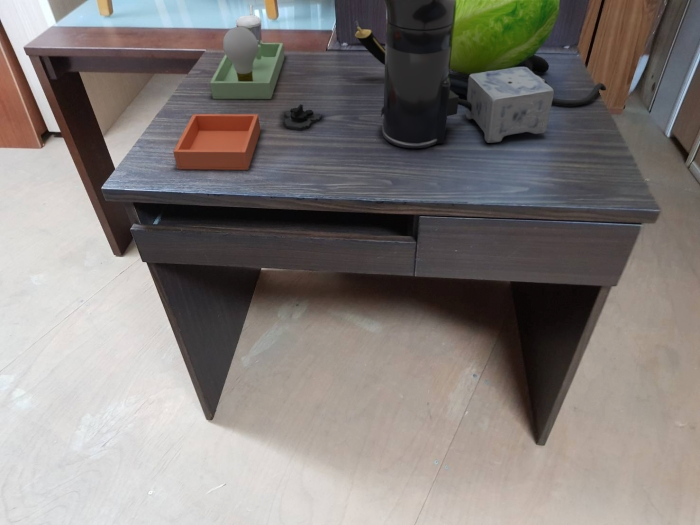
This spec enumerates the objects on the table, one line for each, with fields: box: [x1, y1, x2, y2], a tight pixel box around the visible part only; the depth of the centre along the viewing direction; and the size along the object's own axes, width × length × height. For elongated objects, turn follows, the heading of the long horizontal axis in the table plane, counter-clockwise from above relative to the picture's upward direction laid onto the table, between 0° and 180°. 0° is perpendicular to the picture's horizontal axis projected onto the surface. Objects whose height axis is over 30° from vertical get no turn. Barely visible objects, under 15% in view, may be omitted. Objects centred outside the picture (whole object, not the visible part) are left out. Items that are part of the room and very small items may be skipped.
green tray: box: [209, 42, 285, 100], centre depth 101 cm, size 10×18×3 cm, turn 178°
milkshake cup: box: [235, 4, 263, 69], centre depth 102 cm, size 4×5×10 cm
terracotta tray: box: [173, 113, 261, 171], centre depth 82 cm, size 10×11×3 cm
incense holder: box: [465, 67, 555, 144], centre depth 84 cm, size 10×8×10 cm
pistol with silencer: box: [354, 26, 469, 97], centre depth 93 cm, size 4×25×11 cm, turn 53°
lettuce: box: [450, 0, 561, 76], centre depth 91 cm, size 15×23×16 cm
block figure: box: [282, 103, 322, 131], centre depth 88 cm, size 6×2×6 cm
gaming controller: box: [513, 54, 550, 85], centre depth 97 cm, size 11×4×7 cm
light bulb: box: [222, 26, 258, 82], centre depth 95 cm, size 6×6×10 cm
